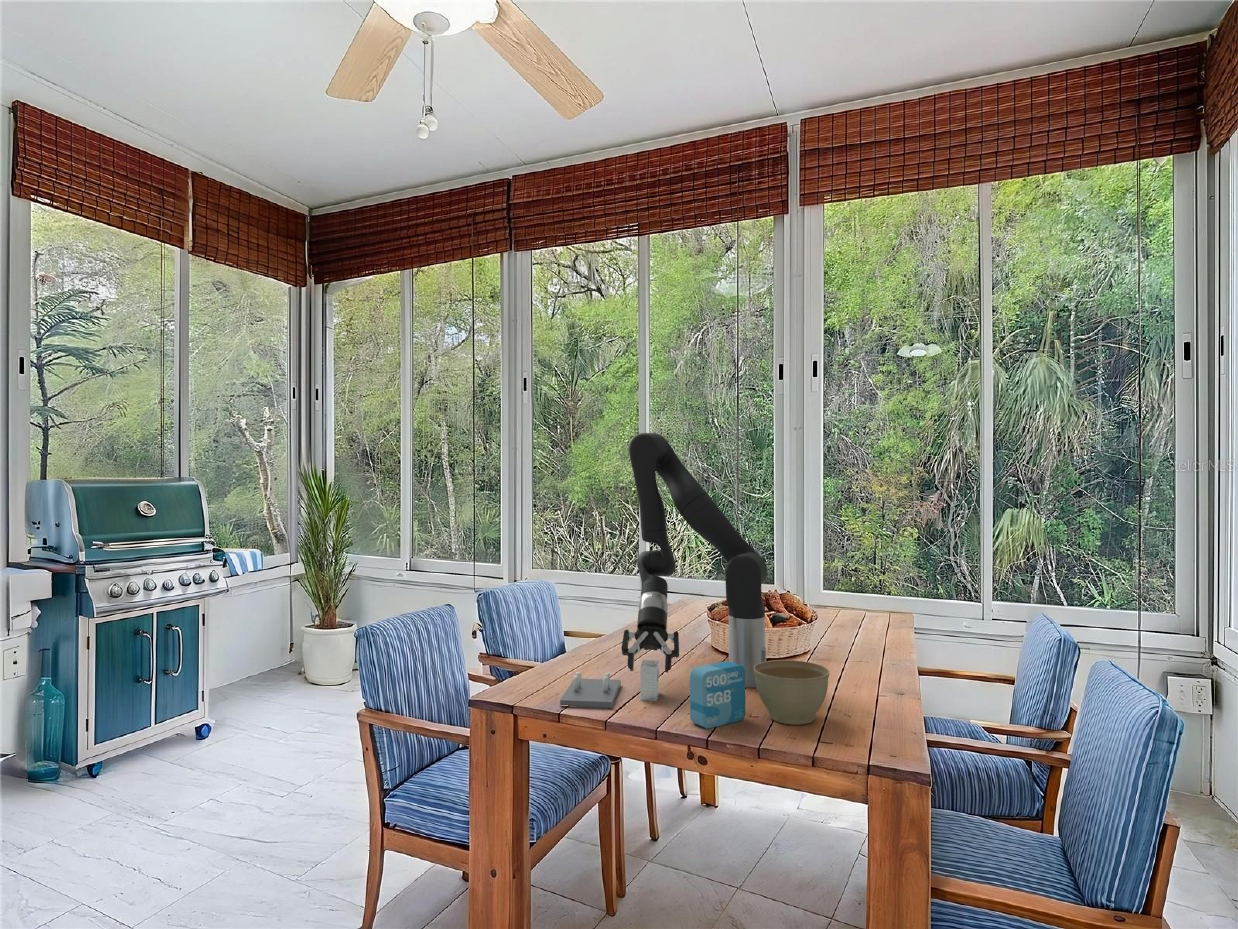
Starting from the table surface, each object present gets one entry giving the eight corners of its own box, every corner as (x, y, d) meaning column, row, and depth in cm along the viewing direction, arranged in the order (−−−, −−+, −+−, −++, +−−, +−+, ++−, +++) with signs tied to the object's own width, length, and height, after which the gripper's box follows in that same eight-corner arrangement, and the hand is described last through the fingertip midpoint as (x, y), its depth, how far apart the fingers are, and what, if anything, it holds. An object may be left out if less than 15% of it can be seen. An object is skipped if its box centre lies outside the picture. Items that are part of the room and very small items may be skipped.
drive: (659, 693, 173) (658, 660, 173) (657, 700, 167) (657, 667, 167) (642, 692, 173) (642, 660, 173) (640, 700, 167) (640, 666, 167)
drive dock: (620, 685, 179) (620, 666, 179) (611, 708, 161) (611, 686, 161) (574, 684, 180) (574, 664, 180) (560, 706, 162) (560, 684, 162)
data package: (703, 730, 147) (702, 672, 147) (689, 724, 151) (689, 667, 151) (746, 719, 153) (745, 664, 154) (732, 714, 157) (731, 660, 157)
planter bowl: (827, 709, 160) (826, 661, 160) (832, 734, 144) (831, 681, 145) (755, 704, 164) (755, 657, 164) (752, 728, 148) (752, 676, 148)
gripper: (624, 604, 180) (618, 661, 169) (680, 606, 179) (678, 663, 167) (626, 621, 186) (621, 677, 174) (680, 622, 184) (678, 679, 172)
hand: (649, 670), depth 170 cm, fingers open, 8 cm apart
